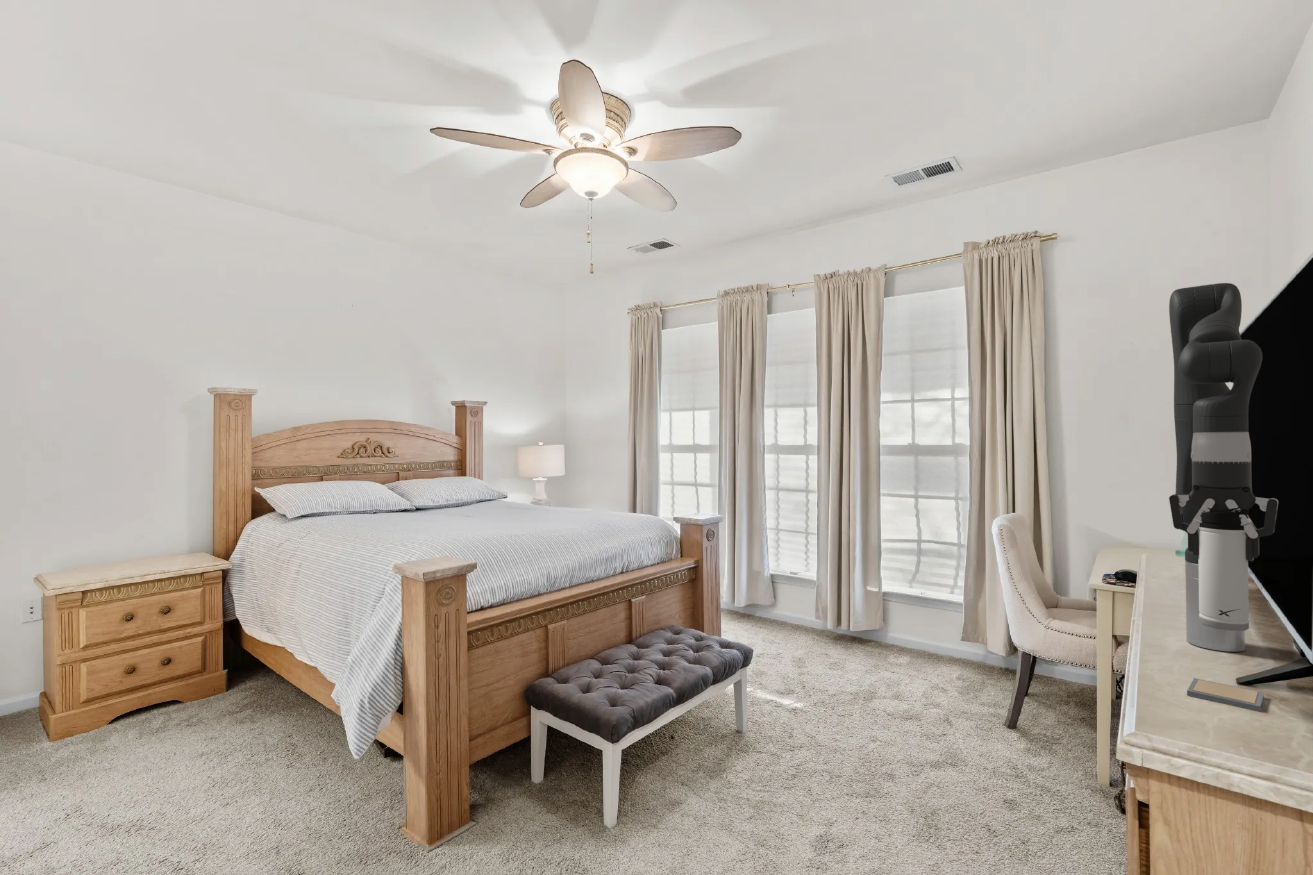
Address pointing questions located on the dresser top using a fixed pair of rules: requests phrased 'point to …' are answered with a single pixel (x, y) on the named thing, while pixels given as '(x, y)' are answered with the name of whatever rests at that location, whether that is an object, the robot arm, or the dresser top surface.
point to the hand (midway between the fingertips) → (1222, 557)
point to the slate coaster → (1226, 694)
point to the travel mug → (1223, 571)
